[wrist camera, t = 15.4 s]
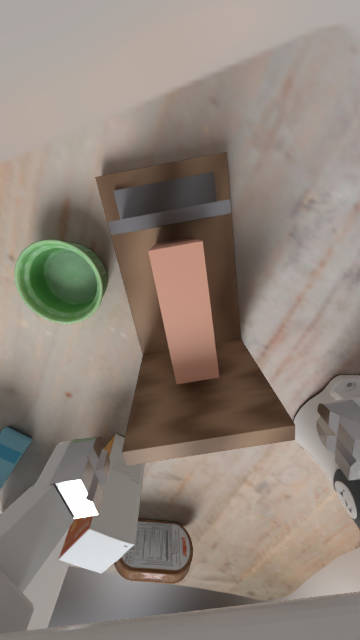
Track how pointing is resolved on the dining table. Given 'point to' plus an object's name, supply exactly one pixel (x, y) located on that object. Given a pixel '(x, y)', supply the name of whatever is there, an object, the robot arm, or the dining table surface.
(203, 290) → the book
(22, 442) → the data package
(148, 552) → the tin
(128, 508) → the small box
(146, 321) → the shelf stand
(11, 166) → the dining table surface
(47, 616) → the milk
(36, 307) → the ramekin
